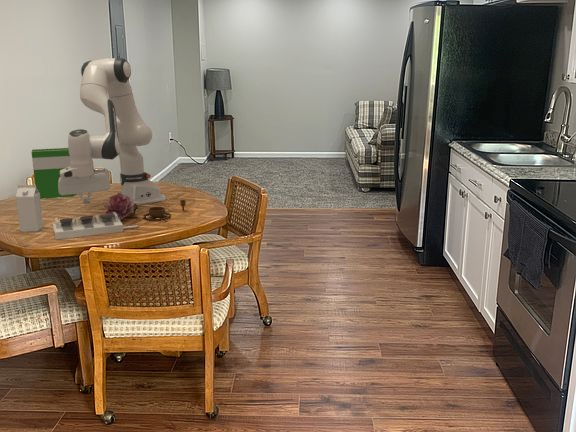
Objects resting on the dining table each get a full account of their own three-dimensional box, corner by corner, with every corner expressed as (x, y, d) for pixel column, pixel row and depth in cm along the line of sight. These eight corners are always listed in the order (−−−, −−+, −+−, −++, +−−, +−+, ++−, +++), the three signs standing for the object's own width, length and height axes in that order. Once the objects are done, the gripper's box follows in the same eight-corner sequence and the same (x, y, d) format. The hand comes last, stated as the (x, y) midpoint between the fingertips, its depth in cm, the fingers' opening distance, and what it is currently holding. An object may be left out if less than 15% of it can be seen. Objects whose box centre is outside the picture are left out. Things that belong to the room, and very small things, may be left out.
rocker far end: (71, 222, 235) (71, 217, 235) (72, 222, 229) (72, 217, 229) (60, 223, 233) (59, 219, 233) (61, 223, 227) (60, 218, 227)
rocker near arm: (111, 217, 242) (110, 213, 242) (113, 218, 236) (113, 213, 235) (100, 219, 240) (100, 214, 240) (102, 219, 234) (102, 215, 234)
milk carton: (26, 227, 239) (20, 183, 234) (43, 226, 240) (38, 183, 234) (20, 232, 232) (14, 187, 227) (37, 231, 233) (32, 186, 228)
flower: (103, 207, 259) (104, 188, 254) (136, 209, 263) (138, 191, 259) (101, 225, 247) (102, 205, 242) (136, 227, 251) (138, 208, 246)
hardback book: (36, 199, 285) (31, 151, 279) (37, 195, 292) (32, 149, 285) (74, 196, 291) (69, 150, 285) (74, 193, 298) (69, 147, 291)
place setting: (142, 214, 261) (141, 202, 259) (185, 211, 267) (185, 199, 265) (145, 225, 245) (144, 212, 243) (191, 221, 251) (191, 208, 249)
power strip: (133, 221, 248) (132, 209, 246) (139, 229, 236) (138, 216, 235) (53, 230, 234) (52, 217, 233) (55, 239, 223) (54, 226, 221)
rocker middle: (91, 221, 238) (91, 216, 239) (93, 219, 232) (92, 214, 232) (80, 222, 237) (80, 217, 237) (82, 220, 230) (81, 216, 230)
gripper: (107, 166, 238) (110, 198, 242) (55, 171, 230) (59, 203, 234) (110, 169, 233) (113, 201, 237) (56, 174, 224) (61, 207, 228)
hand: (86, 202), depth 235 cm, fingers closed
